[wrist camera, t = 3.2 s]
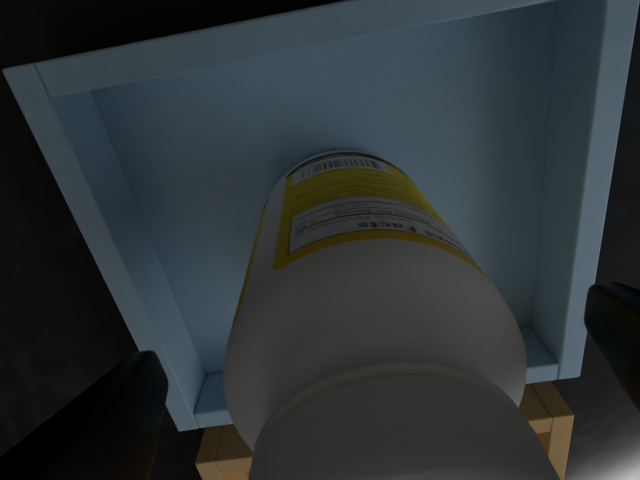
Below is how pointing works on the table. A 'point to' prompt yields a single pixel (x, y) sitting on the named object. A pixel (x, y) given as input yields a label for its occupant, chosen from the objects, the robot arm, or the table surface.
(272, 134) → the tray
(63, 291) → the table surface
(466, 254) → the supplement bottle
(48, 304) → the table surface
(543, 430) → the tray
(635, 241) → the table surface
